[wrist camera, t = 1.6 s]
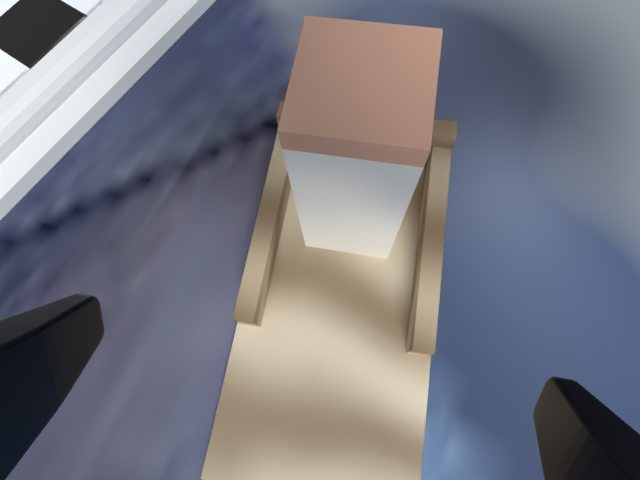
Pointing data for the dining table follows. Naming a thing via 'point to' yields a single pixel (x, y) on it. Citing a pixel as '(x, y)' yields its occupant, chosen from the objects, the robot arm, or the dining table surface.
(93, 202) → the dining table surface
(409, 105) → the block
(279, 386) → the tray
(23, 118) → the chess set
